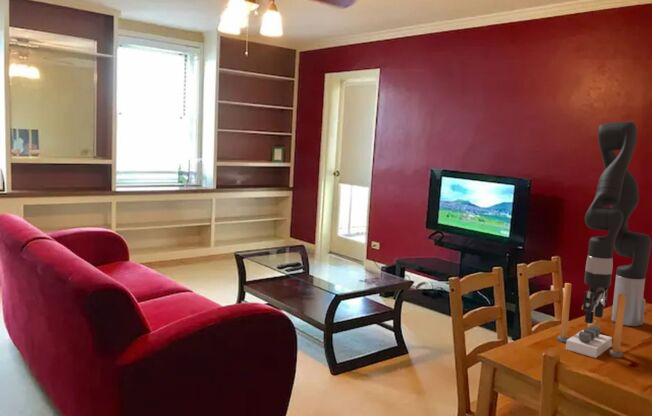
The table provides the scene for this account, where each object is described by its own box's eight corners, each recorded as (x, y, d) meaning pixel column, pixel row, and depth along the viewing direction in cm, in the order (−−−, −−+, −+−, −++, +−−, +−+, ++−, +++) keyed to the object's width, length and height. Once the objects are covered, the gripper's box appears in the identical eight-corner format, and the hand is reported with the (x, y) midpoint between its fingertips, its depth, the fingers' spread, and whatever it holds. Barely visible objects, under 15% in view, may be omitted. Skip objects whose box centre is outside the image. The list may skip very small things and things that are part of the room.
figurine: (608, 334, 187) (611, 300, 185) (601, 338, 183) (604, 303, 181) (583, 327, 193) (586, 294, 191) (576, 331, 189) (579, 297, 187)
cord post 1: (566, 338, 181) (571, 282, 179) (571, 342, 178) (576, 285, 175) (555, 338, 181) (560, 282, 179) (560, 342, 178) (565, 285, 175)
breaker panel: (582, 338, 182) (583, 329, 182) (611, 346, 176) (612, 337, 175) (565, 349, 172) (566, 339, 172) (595, 358, 166) (596, 348, 165)
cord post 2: (618, 353, 170) (624, 293, 168) (624, 358, 167) (631, 297, 164) (606, 352, 170) (613, 293, 168) (612, 357, 167) (619, 296, 164)
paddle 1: (581, 337, 172) (580, 331, 171) (591, 340, 170) (590, 333, 169) (579, 340, 171) (578, 333, 170) (589, 342, 169) (589, 336, 168)
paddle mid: (585, 334, 175) (585, 328, 174) (595, 337, 173) (595, 330, 172) (583, 337, 174) (583, 330, 173) (593, 339, 172) (593, 333, 171)
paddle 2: (590, 331, 178) (590, 325, 177) (600, 334, 176) (600, 327, 175) (588, 334, 177) (588, 327, 176) (598, 336, 175) (598, 330, 174)
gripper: (594, 264, 180) (589, 312, 182) (577, 271, 170) (572, 321, 172) (618, 269, 175) (613, 318, 177) (603, 276, 164) (598, 328, 167)
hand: (593, 319), depth 174 cm, fingers open, 8 cm apart
